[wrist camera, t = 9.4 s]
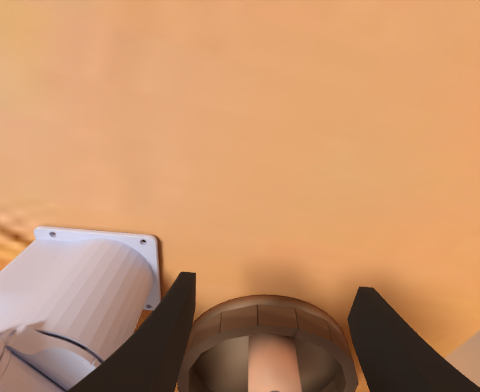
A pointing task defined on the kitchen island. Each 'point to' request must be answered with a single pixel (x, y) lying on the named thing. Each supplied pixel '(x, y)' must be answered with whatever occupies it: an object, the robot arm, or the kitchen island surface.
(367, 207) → the kitchen island surface
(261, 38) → the kitchen island surface
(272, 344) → the bead
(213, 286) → the kitchen island surface
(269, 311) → the groove tray
